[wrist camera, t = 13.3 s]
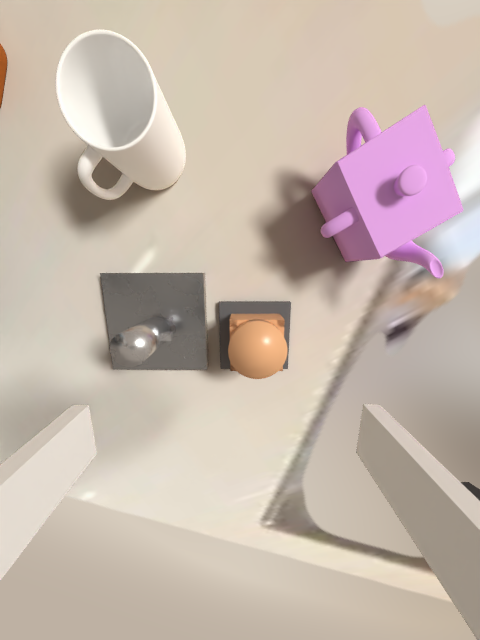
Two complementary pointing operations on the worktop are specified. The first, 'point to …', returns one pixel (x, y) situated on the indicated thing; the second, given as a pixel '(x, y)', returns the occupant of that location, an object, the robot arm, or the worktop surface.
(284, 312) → the pad
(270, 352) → the cap
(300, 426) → the worktop surface
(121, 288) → the post fixture
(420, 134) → the teapot
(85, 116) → the cup
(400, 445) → the robot arm
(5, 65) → the orange rounded block
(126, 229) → the worktop surface
